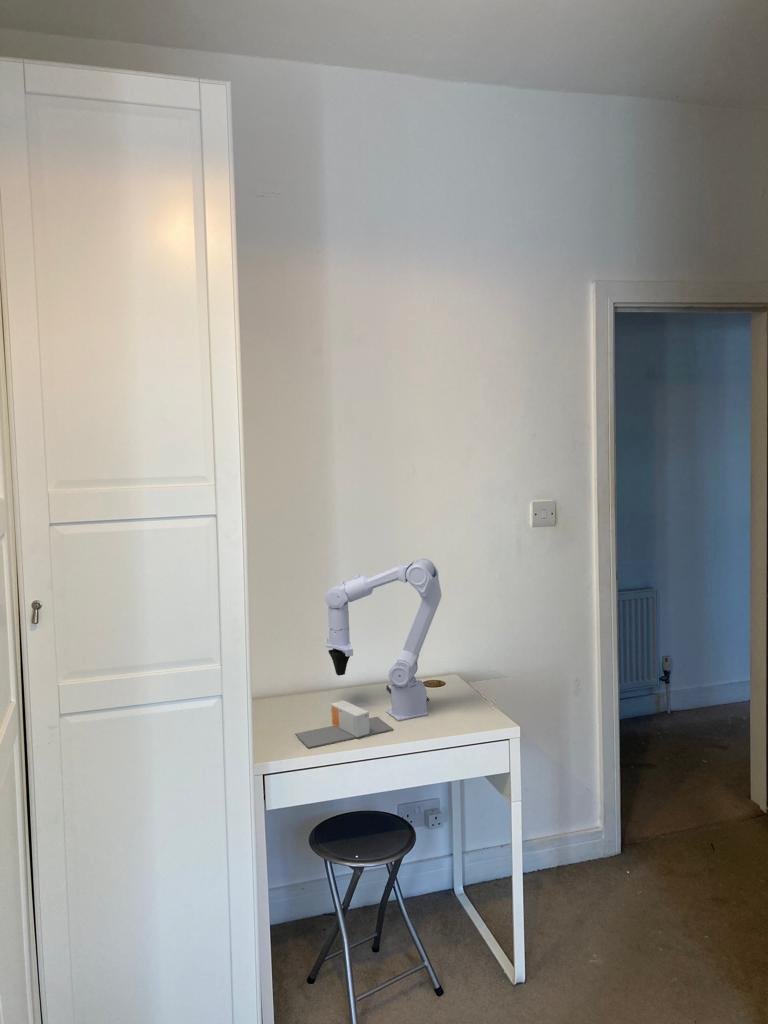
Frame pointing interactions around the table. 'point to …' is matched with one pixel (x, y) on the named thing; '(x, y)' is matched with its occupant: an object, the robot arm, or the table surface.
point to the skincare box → (350, 718)
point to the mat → (339, 734)
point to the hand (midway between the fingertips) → (340, 674)
